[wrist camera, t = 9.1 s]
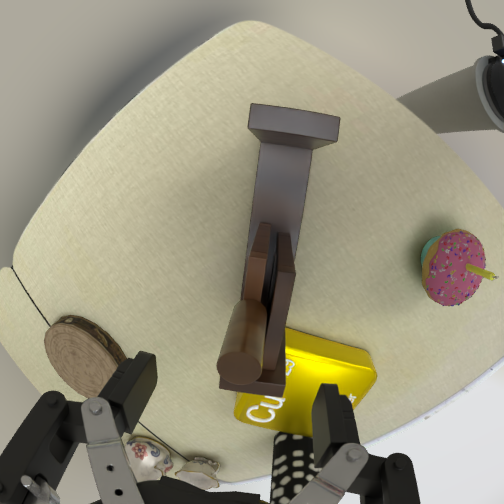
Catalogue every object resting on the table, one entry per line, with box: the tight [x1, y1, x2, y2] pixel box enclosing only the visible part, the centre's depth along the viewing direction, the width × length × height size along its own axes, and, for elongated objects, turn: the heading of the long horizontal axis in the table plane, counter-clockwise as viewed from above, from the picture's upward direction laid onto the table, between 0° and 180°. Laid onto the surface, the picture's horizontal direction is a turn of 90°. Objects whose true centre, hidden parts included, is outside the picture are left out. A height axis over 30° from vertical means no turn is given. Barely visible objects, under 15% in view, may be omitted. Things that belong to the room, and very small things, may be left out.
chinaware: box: [124, 437, 220, 490], centre depth 40 cm, size 28×17×17 cm, turn 126°
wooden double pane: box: [219, 103, 340, 398], centre depth 24 cm, size 20×5×14 cm, turn 173°
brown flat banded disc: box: [44, 315, 127, 398], centre depth 38 cm, size 16×16×3 cm
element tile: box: [234, 327, 377, 438], centre depth 34 cm, size 15×15×5 cm
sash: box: [217, 223, 271, 385], centre depth 22 cm, size 8×2×16 cm, turn 173°
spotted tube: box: [270, 432, 322, 504], centre depth 31 cm, size 8×8×20 cm
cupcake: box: [421, 229, 498, 306], centre depth 24 cm, size 9×8×12 cm
